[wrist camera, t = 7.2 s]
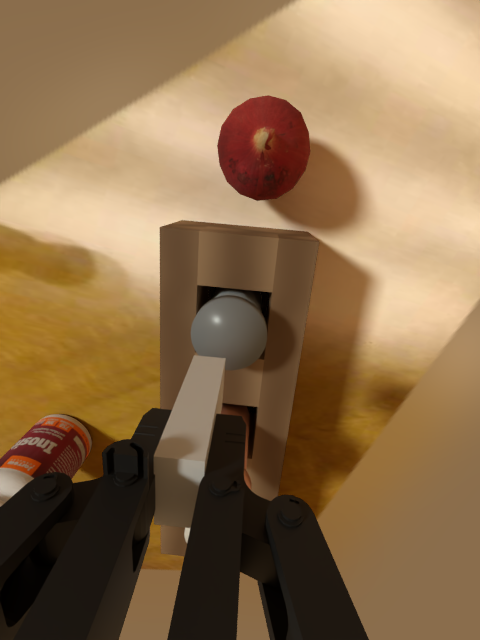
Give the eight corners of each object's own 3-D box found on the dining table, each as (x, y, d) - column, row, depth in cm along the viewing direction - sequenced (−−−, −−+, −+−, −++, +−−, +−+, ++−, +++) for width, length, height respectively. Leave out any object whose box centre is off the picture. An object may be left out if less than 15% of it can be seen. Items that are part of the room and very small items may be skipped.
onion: (305, 194, 25) (322, 194, 18) (230, 203, 26) (216, 207, 19) (300, 105, 23) (317, 64, 16) (219, 118, 24) (199, 84, 17)
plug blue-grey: (208, 322, 29) (189, 366, 22) (211, 268, 28) (191, 296, 20) (263, 328, 29) (262, 374, 22) (269, 274, 28) (271, 303, 20)
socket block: (176, 499, 37) (160, 553, 32) (181, 220, 27) (159, 227, 21) (266, 510, 37) (266, 566, 31) (307, 231, 26) (319, 241, 21)
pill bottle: (80, 407, 34) (0, 500, 24) (102, 455, 36) (37, 560, 26) (26, 416, 35) (-74, 509, 24) (50, 462, 37) (-33, 566, 27)
